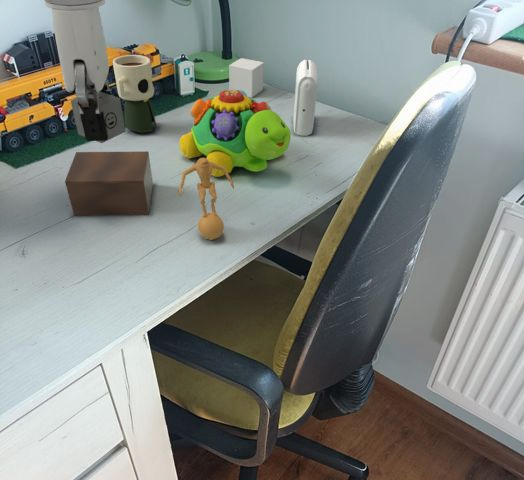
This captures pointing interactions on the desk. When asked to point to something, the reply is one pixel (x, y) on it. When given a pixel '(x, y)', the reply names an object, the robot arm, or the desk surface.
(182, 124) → the desk surface
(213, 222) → the figurine
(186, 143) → the turtle toy
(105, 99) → the dice cube
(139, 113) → the character mug
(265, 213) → the desk surface
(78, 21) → the robot arm
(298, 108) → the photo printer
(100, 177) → the walnut block
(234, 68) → the white cube
